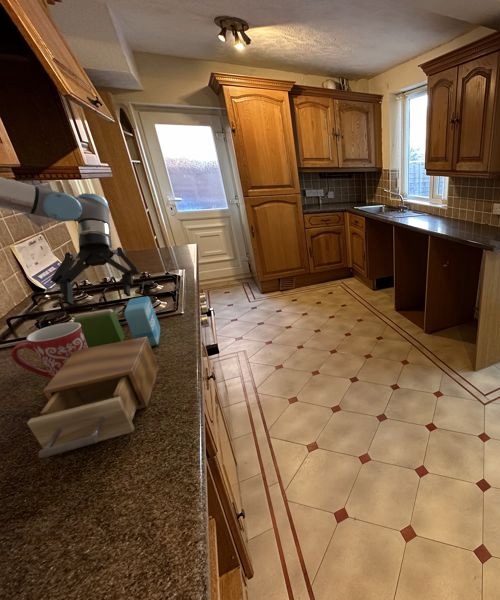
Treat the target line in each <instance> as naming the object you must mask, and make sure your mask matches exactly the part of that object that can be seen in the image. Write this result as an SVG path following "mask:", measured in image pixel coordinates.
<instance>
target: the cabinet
mask: <svg viewBox="0 0 500 600" xmlns="http://www.w3.org/2000/svg"><path fill="white" fill-rule="evenodd" d="M159 371H160V367H159V364H158V361H157V359H156V356H155V354H154V351H153V348H152V346H150V343H149V341H148V338H147V337H142V338H137V339H134V338H132V339H128V340H126V339H125V340H123V341H121V342H116V343H111V344H106V345H101V346H96V347H91V348H85V349H80V350H75V351H74V352H73V354H72V355H71V356H70V357H69V359H68V360H67V361H66V362H65V364H64V365H63V366H62V367H61V369H60V370H59V371H58V372H57V374H56V375H55V376H54V378H53V379H52V378H51V380H50V381H49V382H48V383H47V385H46V386H45V388H43V390H42V392H43V393H44V395H45V397H46V398H47V400H48V402H49V401H50V399H51V398H52V397H53V395H54V394H55V392H56V391H60V390H65V389H69V388H73V387H78V386H82V385H86V384H91V383H95V382H99V381H104V380H108V379H112V378H117V377H121V376H125V375H129V377H130V380H131V382H132V384H133V387H134V389H135V391H136V394H137V396H138V398H139V403H138V406H137V408H136V411H137V410H141V409H144V408H148V405H149V402H150V399H151V396H152V394H153V390H154V387H155V384H156V381H157V377H158V374H159Z"/></svg>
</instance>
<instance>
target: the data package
mask: <svg viewBox="0 0 500 600" xmlns="http://www.w3.org/2000/svg"><path fill="white" fill-rule="evenodd" d="M123 313H124V314H123V315H124V319H125V321H126V323H127V325H128V328H129V330H130V333H131V335H132V339H137V338H142V337H147V338H148V341H149V343H150V346H151V347H154V346H158V345H159V341H160V336H161V326H160V323H159V320H158V316H157V315H156V311H155V309H154V306H153V303H152V301H151V298H150V297H149V296H147V295H146V296H140V297H135V298H130V299H129V300H128V303H127V305H126V307H125V309H124V311H123Z"/></svg>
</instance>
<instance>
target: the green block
mask: <svg viewBox="0 0 500 600" xmlns="http://www.w3.org/2000/svg"><path fill="white" fill-rule="evenodd" d="M73 317H74V318H73V321H72V322H75V323H80V324H81V329H82V332H83V335H84V338H85V340H86V343H87V346H88V348H91V347H96V346H101V345H106V344H111V343H116V342H121V341H124V340H125V337H126V336H125V333H124V331H123V328H122V326H121V323H120V321H119V319H118V316H117V314H116V311H115V309H112V308H107V309H102V310H95V311H90V312H83V313H77V314H75V315H74V316H73Z"/></svg>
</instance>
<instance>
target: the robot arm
mask: <svg viewBox="0 0 500 600" xmlns="http://www.w3.org/2000/svg"><path fill="white" fill-rule="evenodd" d="M0 209H5V210H10V211H15V212H20V213H25V214H28V215H29V214H30V215H33V216H39V217H44V218H47V219H52V220H55V221H60V222H77V233H78V234H77V236H78V252H77V253H71V252H69V251H68V252H65V253H64V259H63V260H62V261H61V263H60V264H59V266H58V267H57V269H56V270H55V272H54V273H53V274H52V276H51V278H50V281H51V282H53V283H54V284H56V285H57V286H58V285H59V292H60V294H62V295H63V297H64V299H63V301H64V302H63V303H65V304H67V305H69V306H74V286H73V284H72V283H73V281H74V280H75V279H76V278H77V277H79V275H80V274H82V273H83V272H84V271H85V270H86V269H88V268H90V267H97V266H106V264H109V265H110V266H112V267H114V268H115V269H116V270H118V271H120V272H121V273H122V274H121V276H122V277H121V278H122V279H121V280H122V288H123V290H122V291H123V294H124V295H125V296H126V297H131V286H133V285H134V277H133V276H134V275H140V273H141V272H140V270H138V268H137V267H136V265H134V264H133V262H132V261H131V260H130V259H129V258H128V256H127V255H126V251H125V250H124V249H123V247H121V246H118V247H117V248H116V249H113V247H112V246H113V245H112V233H111V232H112V231H111V223H110V222H111V221H110V212H111V211H110V208H109V203H108V201H107V199H105V198H104V197H103V196H101V195H99V194H96V193H88V192H85V193H84V192H83V193H80V194H79V195H78V196H73V195H71V194H69V193H66V192H61V191H57V190H53V189H48V188H44V187H41V186H36V185H33V184H30V183H26V182H21V181H18V180H15V179H10V178H6V177H2V176H0ZM115 255H116V256H117V257H120V258H121V259H122V261H123V262H124V263H125V264H126V265H127V266H128V267H129V269H128V268H126V267H124V266H123V265H122V264H120V263H119V262H117V261H116V260H114V259H113V257H114V256H115Z"/></svg>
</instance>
